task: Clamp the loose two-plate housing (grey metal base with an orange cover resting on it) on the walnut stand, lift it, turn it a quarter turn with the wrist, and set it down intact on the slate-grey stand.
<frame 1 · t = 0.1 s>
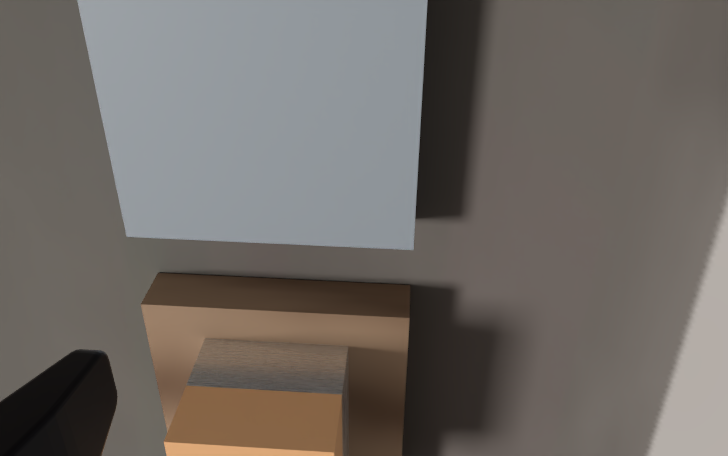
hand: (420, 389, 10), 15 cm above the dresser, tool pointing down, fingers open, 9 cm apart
slate stand: (269, 84, 23), on the dresser
housing base: (281, 407, 28), point 2 cm above the dresser, touching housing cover, walnut stand
walnut stand: (289, 372, 30), on the dresser
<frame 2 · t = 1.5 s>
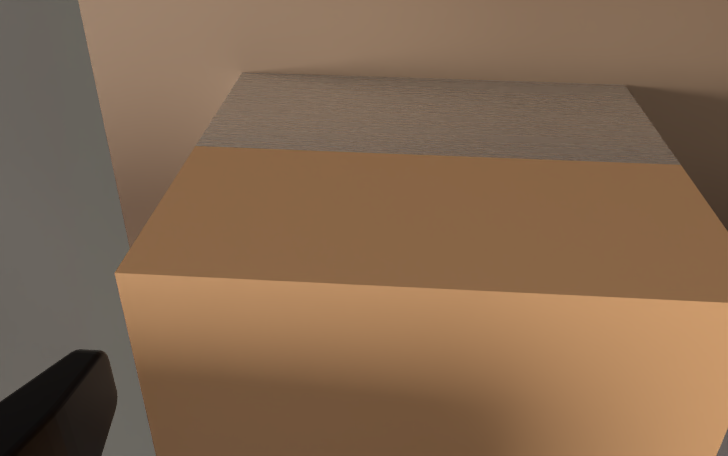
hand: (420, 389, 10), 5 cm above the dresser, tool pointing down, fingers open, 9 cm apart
housing base: (418, 274, 12), point 2 cm above the dresser, touching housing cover, walnut stand
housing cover: (417, 379, 10), point 4 cm above the dresser, touching housing base
walnut stand: (418, 214, 13), on the dresser
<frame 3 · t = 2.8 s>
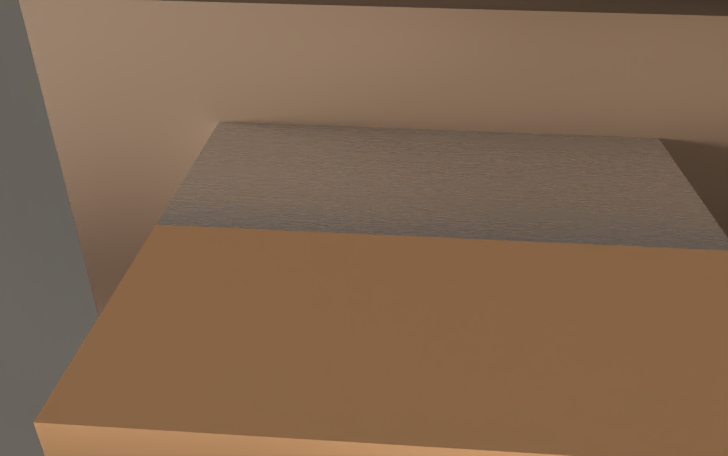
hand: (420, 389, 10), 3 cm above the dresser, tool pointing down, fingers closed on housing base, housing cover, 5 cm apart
housing base: (420, 341, 11), point 2 cm above the dresser, touching gripper, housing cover, walnut stand
walnut stand: (420, 265, 12), on the dresser
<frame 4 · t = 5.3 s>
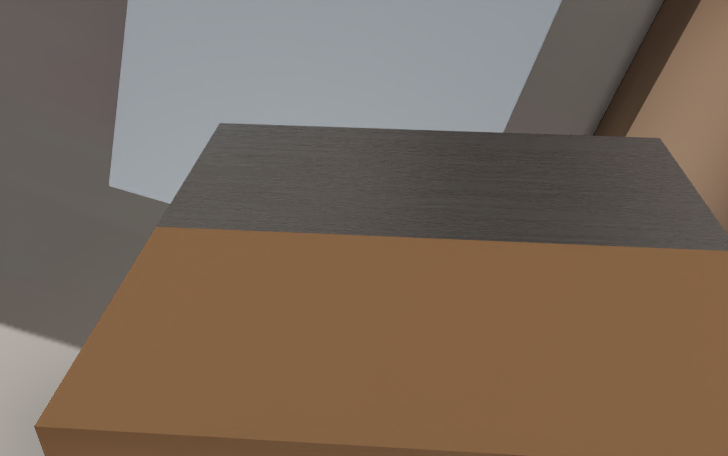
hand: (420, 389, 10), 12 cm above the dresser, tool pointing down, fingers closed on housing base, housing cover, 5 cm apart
slate stand: (327, 54, 19), on the dresser
housing base: (421, 342, 10), point 11 cm above the dresser, touching gripper, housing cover
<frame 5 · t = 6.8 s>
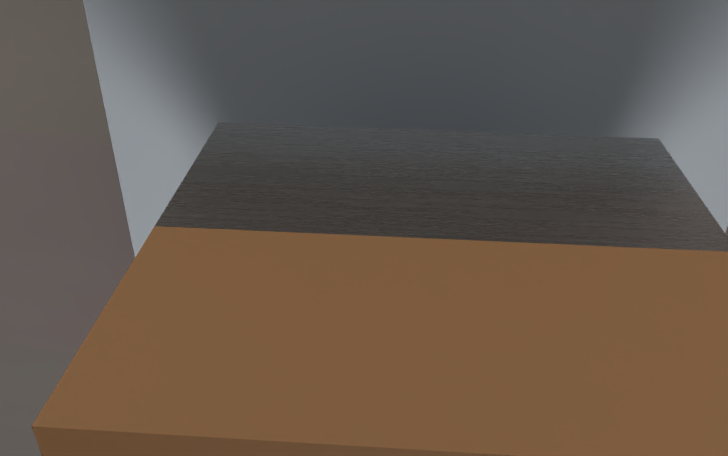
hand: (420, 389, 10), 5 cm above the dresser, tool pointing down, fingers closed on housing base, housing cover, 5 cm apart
slate stand: (415, 213, 14), on the dresser
housing base: (420, 342, 10), point 4 cm above the dresser, touching gripper, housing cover
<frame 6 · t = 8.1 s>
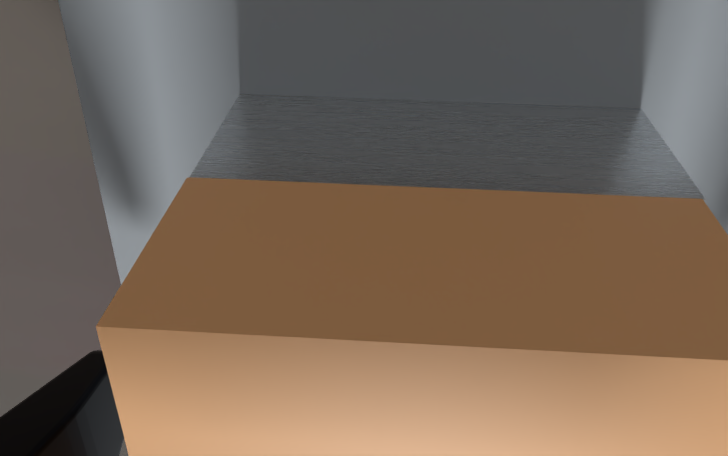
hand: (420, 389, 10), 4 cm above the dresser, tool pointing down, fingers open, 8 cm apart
slate stand: (418, 236, 13), on the dresser
housing base: (422, 301, 11), point 2 cm above the dresser, touching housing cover, slate stand
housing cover: (421, 417, 9), point 4 cm above the dresser, touching housing base
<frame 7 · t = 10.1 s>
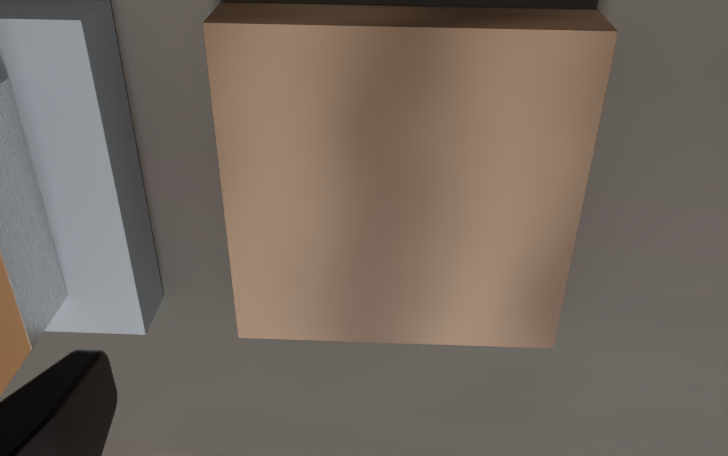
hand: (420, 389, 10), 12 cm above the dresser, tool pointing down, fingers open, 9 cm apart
walnut stand: (400, 173, 21), on the dresser
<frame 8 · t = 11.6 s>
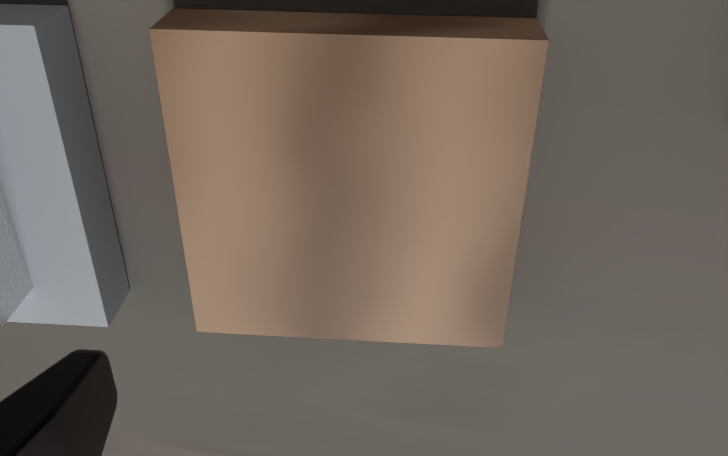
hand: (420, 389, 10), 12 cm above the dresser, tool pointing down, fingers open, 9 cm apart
walnut stand: (352, 175, 22), on the dresser
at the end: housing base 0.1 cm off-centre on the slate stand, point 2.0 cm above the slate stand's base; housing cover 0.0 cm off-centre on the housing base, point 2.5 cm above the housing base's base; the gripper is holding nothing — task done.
